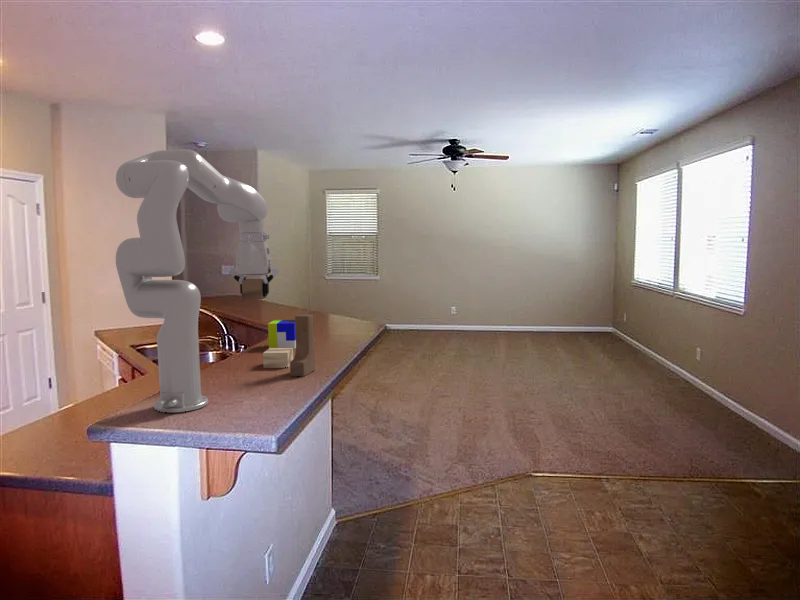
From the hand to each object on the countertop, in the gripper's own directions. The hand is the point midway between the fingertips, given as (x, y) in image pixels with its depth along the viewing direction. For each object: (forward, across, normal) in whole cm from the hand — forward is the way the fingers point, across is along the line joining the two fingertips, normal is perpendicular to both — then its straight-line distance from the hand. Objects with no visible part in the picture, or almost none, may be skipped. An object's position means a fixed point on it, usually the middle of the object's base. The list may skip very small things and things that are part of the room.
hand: (254, 295), depth 175 cm
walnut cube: (+1, 0, 0) cm, 1 cm away
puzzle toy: (+25, +1, -40) cm, 47 cm away
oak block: (+24, -5, -7) cm, 25 cm away
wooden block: (+24, -16, +5) cm, 29 cm away
